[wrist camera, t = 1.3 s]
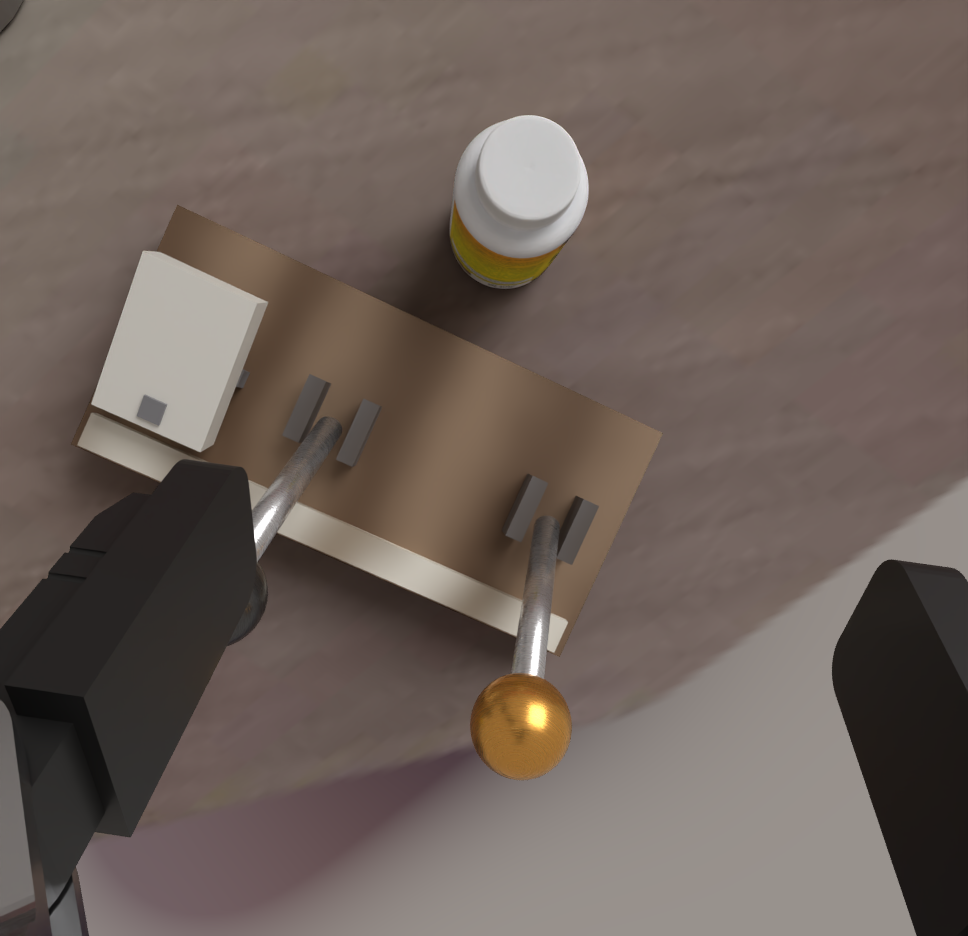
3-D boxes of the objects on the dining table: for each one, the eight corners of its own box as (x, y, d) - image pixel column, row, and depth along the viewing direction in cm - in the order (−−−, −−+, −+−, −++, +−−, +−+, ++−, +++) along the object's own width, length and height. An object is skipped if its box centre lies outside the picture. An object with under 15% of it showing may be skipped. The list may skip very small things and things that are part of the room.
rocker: (109, 398, 34) (89, 404, 32) (159, 251, 33) (141, 250, 31) (213, 444, 35) (198, 453, 33) (268, 302, 33) (255, 303, 31)
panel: (99, 442, 38) (51, 445, 33) (197, 222, 38) (163, 192, 33) (549, 639, 40) (566, 668, 35) (645, 432, 40) (675, 433, 35)
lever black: (285, 441, 35) (126, 644, 24) (304, 381, 33) (143, 570, 22) (352, 471, 35) (227, 686, 24) (375, 414, 34) (253, 616, 22)
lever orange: (499, 537, 36) (446, 777, 25) (529, 484, 34) (487, 715, 23) (563, 566, 36) (540, 815, 25) (596, 514, 35) (588, 757, 23)
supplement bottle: (550, 298, 39) (593, 252, 29) (442, 283, 39) (447, 231, 28) (563, 188, 39) (611, 104, 29) (455, 172, 38) (465, 80, 28)
